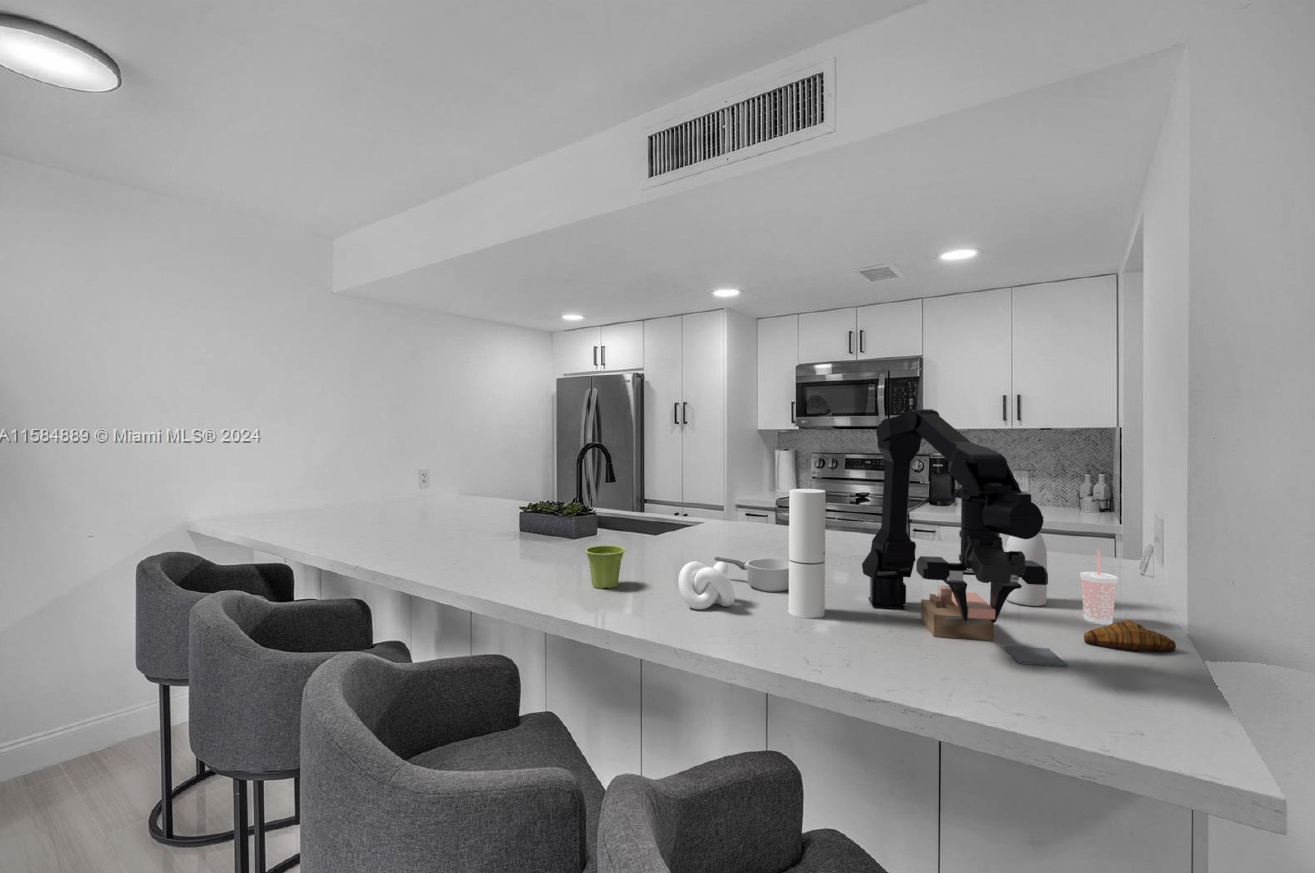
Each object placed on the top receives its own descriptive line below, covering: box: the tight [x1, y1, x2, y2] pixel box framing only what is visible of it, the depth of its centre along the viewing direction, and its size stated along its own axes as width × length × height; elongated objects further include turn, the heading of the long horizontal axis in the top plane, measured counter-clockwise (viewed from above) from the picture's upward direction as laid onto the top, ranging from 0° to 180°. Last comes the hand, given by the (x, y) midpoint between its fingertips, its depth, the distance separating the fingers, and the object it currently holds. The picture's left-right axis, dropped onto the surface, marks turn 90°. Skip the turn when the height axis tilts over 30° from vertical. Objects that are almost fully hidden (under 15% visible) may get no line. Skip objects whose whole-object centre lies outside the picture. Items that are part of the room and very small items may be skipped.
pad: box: [1003, 645, 1069, 667], centre depth 102 cm, size 7×7×1 cm
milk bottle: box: [1005, 531, 1048, 607], centre depth 133 cm, size 8×8×20 cm
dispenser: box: [920, 584, 995, 641], centre depth 115 cm, size 10×10×7 cm
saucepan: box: [714, 556, 789, 593], centre depth 147 cm, size 12×20×6 cm, turn 60°
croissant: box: [1083, 620, 1177, 653], centre depth 106 cm, size 14×7×5 cm, turn 75°
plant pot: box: [585, 544, 626, 590], centre depth 146 cm, size 9×9×9 cm
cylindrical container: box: [788, 488, 826, 619], centre depth 125 cm, size 7×7×25 cm
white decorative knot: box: [678, 560, 736, 611], centre depth 130 cm, size 11×12×9 cm
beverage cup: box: [1079, 549, 1119, 626], centre depth 120 cm, size 6×6×14 cm
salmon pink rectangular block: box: [952, 591, 995, 619], centre depth 105 cm, size 4×10×2 cm, turn 169°
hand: (978, 621), depth 102 cm, fingers closed on salmon pink rectangular block, 4 cm apart
